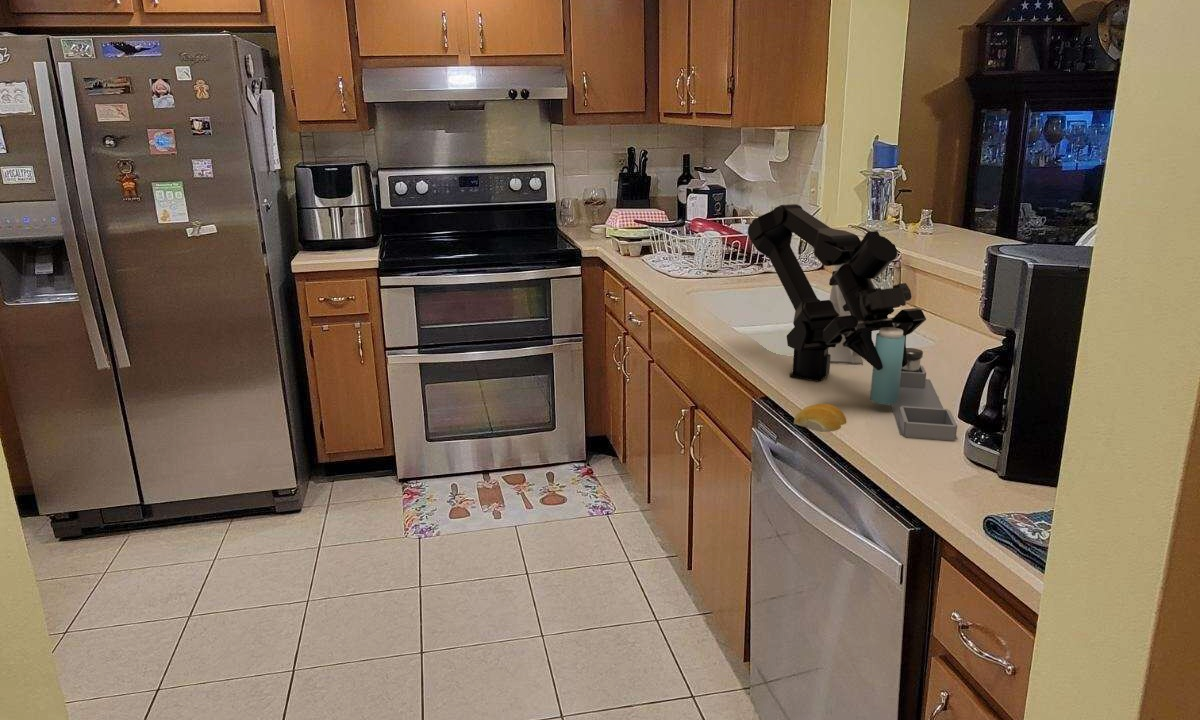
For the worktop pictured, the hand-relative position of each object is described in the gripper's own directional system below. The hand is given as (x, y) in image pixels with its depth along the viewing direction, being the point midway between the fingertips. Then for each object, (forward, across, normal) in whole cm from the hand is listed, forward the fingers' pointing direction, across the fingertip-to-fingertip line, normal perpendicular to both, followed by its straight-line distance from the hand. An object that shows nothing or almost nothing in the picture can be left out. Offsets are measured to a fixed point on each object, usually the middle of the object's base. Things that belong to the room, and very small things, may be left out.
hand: (892, 367), depth 147 cm
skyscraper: (-15, +13, +29) cm, 35 cm away
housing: (+6, +7, +7) cm, 11 cm away
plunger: (-2, +14, +13) cm, 19 cm away
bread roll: (+7, -14, +7) cm, 17 cm away
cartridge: (+4, 0, +6) cm, 7 cm away
